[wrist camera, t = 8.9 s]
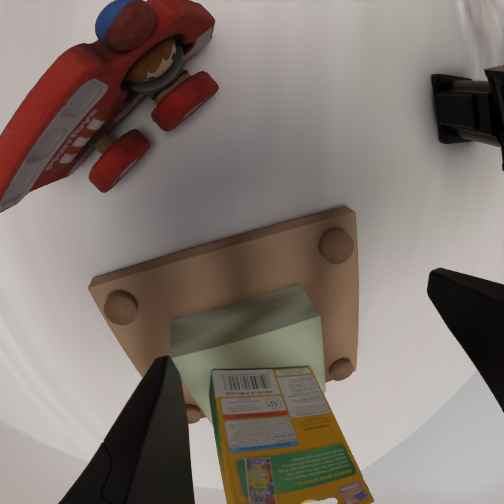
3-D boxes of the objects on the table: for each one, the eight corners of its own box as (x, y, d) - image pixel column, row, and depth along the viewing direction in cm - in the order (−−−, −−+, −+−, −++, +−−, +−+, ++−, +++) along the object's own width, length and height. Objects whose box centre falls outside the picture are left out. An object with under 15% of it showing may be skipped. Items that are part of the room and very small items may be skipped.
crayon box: (207, 394, 19) (233, 542, 9) (210, 368, 18) (241, 536, 8) (300, 390, 21) (353, 515, 11) (311, 364, 20) (377, 500, 9)
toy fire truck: (239, 77, 16) (292, 26, 7) (100, 202, 18) (29, 276, 8) (174, 8, 13) (164, -83, 4) (40, 136, 14) (-62, 159, 5)
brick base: (345, 205, 21) (386, 231, 16) (350, 361, 29) (372, 396, 24) (93, 277, 19) (71, 321, 15) (177, 411, 28) (179, 453, 23)
